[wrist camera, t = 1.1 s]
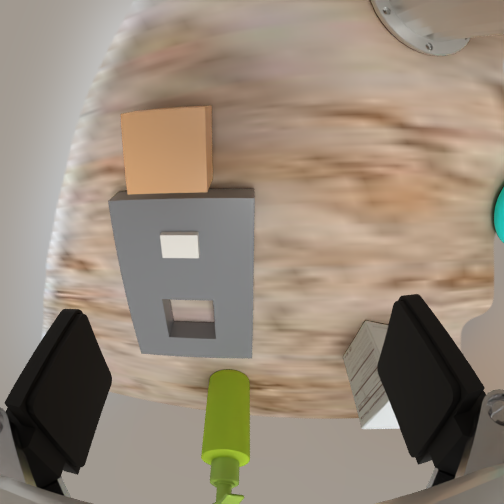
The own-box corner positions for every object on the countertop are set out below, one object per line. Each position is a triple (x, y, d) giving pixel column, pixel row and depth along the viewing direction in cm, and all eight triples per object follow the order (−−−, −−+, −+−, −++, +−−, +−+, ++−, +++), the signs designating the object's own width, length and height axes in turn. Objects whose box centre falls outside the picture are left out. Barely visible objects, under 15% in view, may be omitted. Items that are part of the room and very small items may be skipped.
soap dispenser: (258, 371, 43) (262, 503, 26) (240, 397, 46) (238, 516, 28) (219, 360, 42) (208, 496, 24) (204, 387, 45) (191, 509, 27)
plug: (147, 109, 27) (120, 113, 21) (215, 104, 27) (205, 107, 21) (150, 173, 30) (127, 194, 24) (215, 171, 30) (207, 192, 24)
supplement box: (407, 326, 40) (442, 394, 29) (381, 362, 43) (407, 430, 32) (364, 317, 39) (396, 393, 28) (340, 357, 42) (360, 431, 31)
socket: (119, 191, 31) (105, 203, 28) (254, 188, 31) (254, 201, 28) (146, 337, 40) (140, 357, 37) (251, 341, 41) (252, 363, 37)
